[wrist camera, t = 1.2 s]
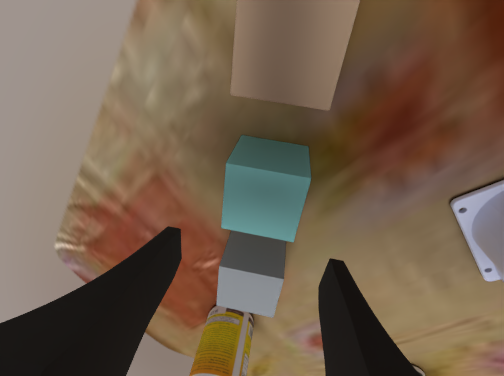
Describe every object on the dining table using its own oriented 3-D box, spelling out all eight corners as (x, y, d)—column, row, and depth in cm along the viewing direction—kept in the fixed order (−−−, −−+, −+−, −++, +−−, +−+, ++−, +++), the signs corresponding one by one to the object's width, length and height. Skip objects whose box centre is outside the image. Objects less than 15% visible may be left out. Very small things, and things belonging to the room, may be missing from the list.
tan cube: (344, -3, 14) (364, -18, 10) (321, 91, 17) (329, 110, 13) (256, -14, 15) (239, -34, 10) (246, 79, 17) (230, 94, 13)
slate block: (286, 235, 24) (283, 279, 19) (277, 271, 26) (273, 317, 22) (233, 225, 24) (219, 266, 20) (229, 262, 27) (216, 305, 22)
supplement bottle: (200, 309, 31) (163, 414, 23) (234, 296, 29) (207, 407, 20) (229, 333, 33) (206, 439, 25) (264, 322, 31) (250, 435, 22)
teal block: (308, 146, 19) (311, 178, 15) (294, 201, 22) (293, 242, 17) (241, 134, 19) (225, 163, 15) (236, 190, 22) (221, 228, 18)
